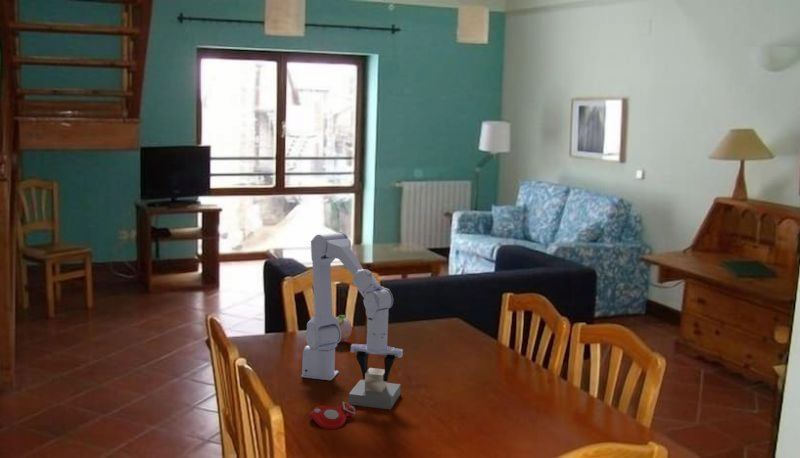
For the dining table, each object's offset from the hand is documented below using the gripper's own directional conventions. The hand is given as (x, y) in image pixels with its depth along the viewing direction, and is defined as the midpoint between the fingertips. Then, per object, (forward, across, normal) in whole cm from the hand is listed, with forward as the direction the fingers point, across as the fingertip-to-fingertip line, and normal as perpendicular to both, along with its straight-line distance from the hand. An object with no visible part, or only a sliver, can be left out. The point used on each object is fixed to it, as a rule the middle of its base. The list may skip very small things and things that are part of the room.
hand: (375, 379), depth 224 cm
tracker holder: (+6, -6, -18) cm, 20 cm away
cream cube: (+3, 0, 0) cm, 3 cm away
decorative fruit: (+6, -25, +48) cm, 54 cm away
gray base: (+6, 0, 0) cm, 6 cm away
